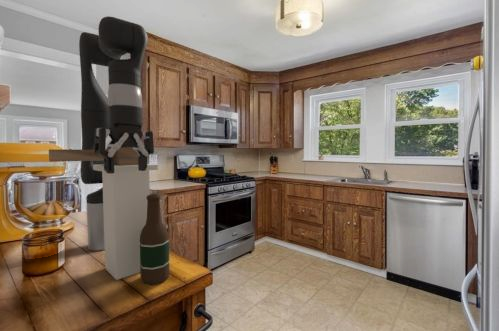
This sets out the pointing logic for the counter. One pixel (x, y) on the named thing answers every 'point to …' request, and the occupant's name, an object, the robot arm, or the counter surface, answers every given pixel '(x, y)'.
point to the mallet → (95, 156)
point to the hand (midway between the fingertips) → (127, 171)
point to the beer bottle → (154, 245)
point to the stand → (124, 216)
